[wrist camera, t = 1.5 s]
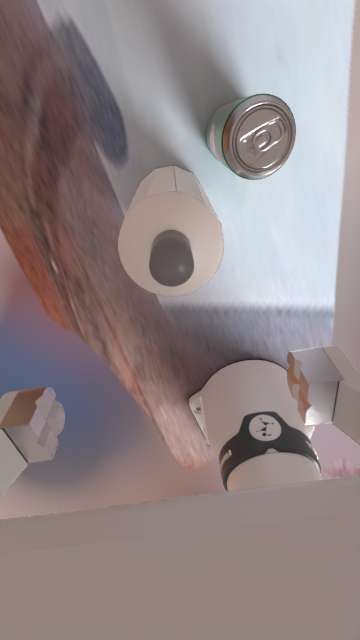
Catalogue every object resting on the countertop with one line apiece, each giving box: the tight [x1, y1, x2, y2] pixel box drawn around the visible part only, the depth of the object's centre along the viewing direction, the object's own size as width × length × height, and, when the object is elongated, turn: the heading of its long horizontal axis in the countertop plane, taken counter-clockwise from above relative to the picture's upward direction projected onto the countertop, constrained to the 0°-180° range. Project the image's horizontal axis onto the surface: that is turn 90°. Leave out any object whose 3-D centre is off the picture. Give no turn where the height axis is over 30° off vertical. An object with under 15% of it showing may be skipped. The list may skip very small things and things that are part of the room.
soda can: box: [206, 94, 296, 180], centre depth 25 cm, size 5×5×12 cm
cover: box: [118, 166, 224, 296], centre depth 26 cm, size 7×7×17 cm
